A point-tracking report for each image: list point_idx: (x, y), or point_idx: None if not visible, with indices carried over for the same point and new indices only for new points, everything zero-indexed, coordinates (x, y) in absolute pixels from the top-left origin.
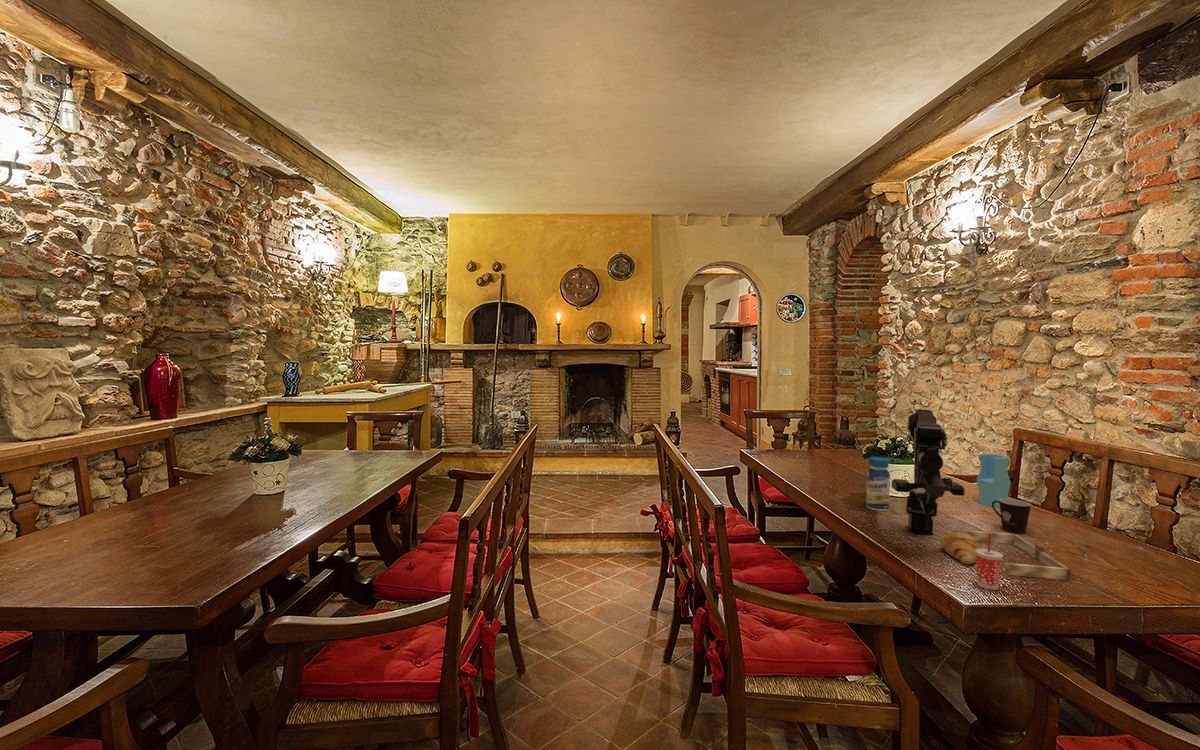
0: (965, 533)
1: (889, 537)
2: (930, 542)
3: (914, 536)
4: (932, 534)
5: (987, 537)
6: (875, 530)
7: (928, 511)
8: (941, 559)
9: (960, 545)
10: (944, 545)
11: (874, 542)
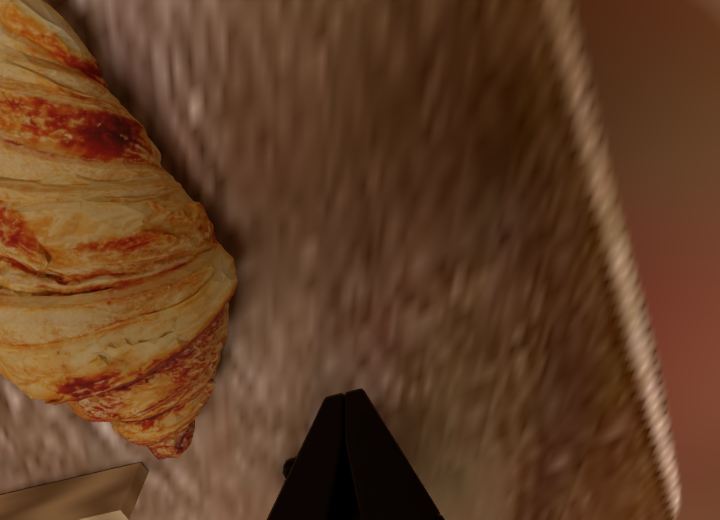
0: (34, 373)
1: (504, 337)
2: (298, 362)
3: None
4: (286, 463)
5: (28, 509)
6: (552, 401)
7: (323, 427)
8: (235, 77)
9: (70, 185)
10: (212, 253)
11: (617, 213)
